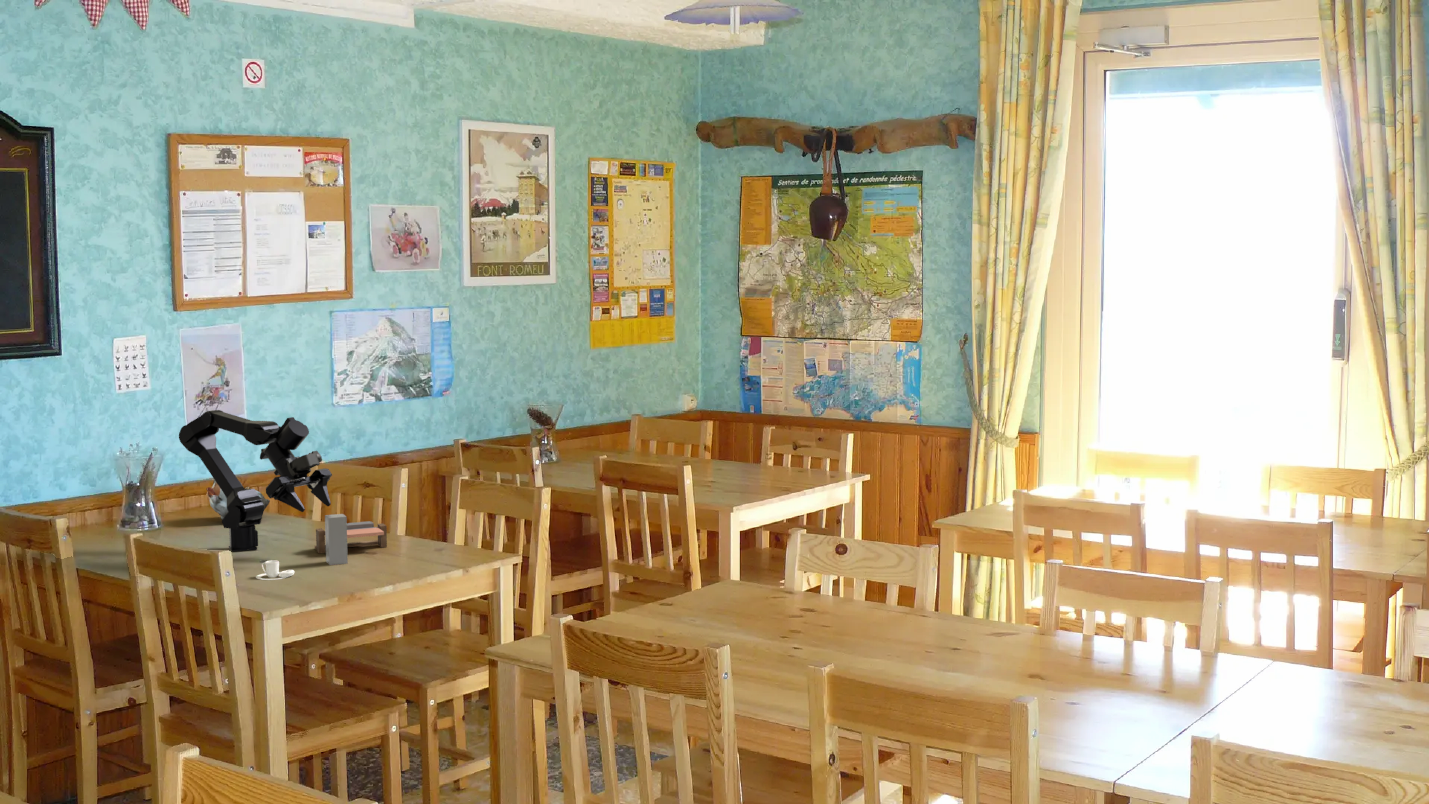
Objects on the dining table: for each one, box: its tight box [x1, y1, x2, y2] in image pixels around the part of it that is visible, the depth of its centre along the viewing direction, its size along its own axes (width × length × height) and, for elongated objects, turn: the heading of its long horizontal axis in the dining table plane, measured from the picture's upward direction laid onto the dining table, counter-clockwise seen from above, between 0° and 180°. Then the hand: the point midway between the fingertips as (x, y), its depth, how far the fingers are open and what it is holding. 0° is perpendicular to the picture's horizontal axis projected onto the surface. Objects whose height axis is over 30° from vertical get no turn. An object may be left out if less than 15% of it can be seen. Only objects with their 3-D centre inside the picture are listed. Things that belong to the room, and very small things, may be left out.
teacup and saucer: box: [255, 559, 295, 581], centre depth 324 cm, size 9×8×4 cm
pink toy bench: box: [314, 523, 388, 554], centre depth 358 cm, size 18×7×6 cm, turn 117°
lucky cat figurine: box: [206, 479, 271, 521], centre depth 397 cm, size 17×14×16 cm
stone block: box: [324, 513, 349, 566], centre depth 340 cm, size 4×4×12 cm
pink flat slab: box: [347, 520, 384, 539], centre depth 355 cm, size 14×11×3 cm
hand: (316, 508), depth 343 cm, fingers open, 9 cm apart
